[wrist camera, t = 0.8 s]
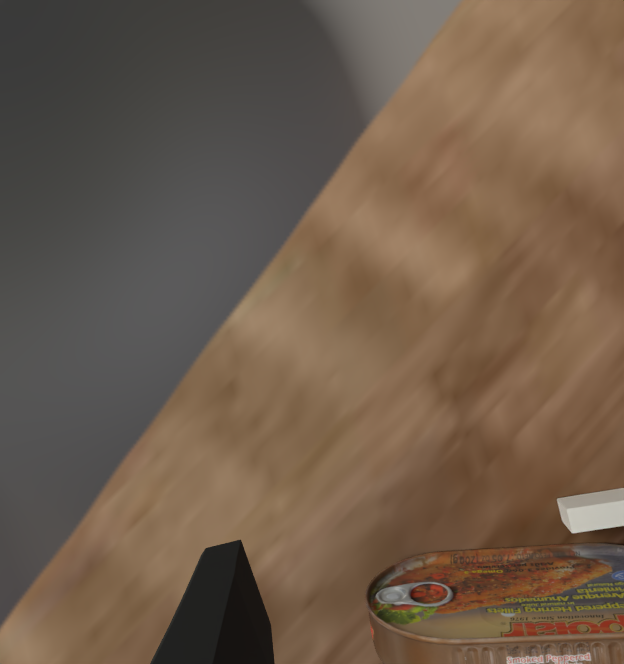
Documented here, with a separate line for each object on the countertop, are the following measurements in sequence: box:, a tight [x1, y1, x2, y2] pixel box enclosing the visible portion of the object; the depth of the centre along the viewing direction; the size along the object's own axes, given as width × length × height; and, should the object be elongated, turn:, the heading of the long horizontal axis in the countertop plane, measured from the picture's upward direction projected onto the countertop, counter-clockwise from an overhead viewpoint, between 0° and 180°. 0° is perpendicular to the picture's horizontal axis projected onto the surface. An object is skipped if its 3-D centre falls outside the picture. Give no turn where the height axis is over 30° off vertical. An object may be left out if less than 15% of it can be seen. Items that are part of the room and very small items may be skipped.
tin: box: [365, 543, 624, 664], centre depth 26 cm, size 15×3×8 cm, turn 97°
